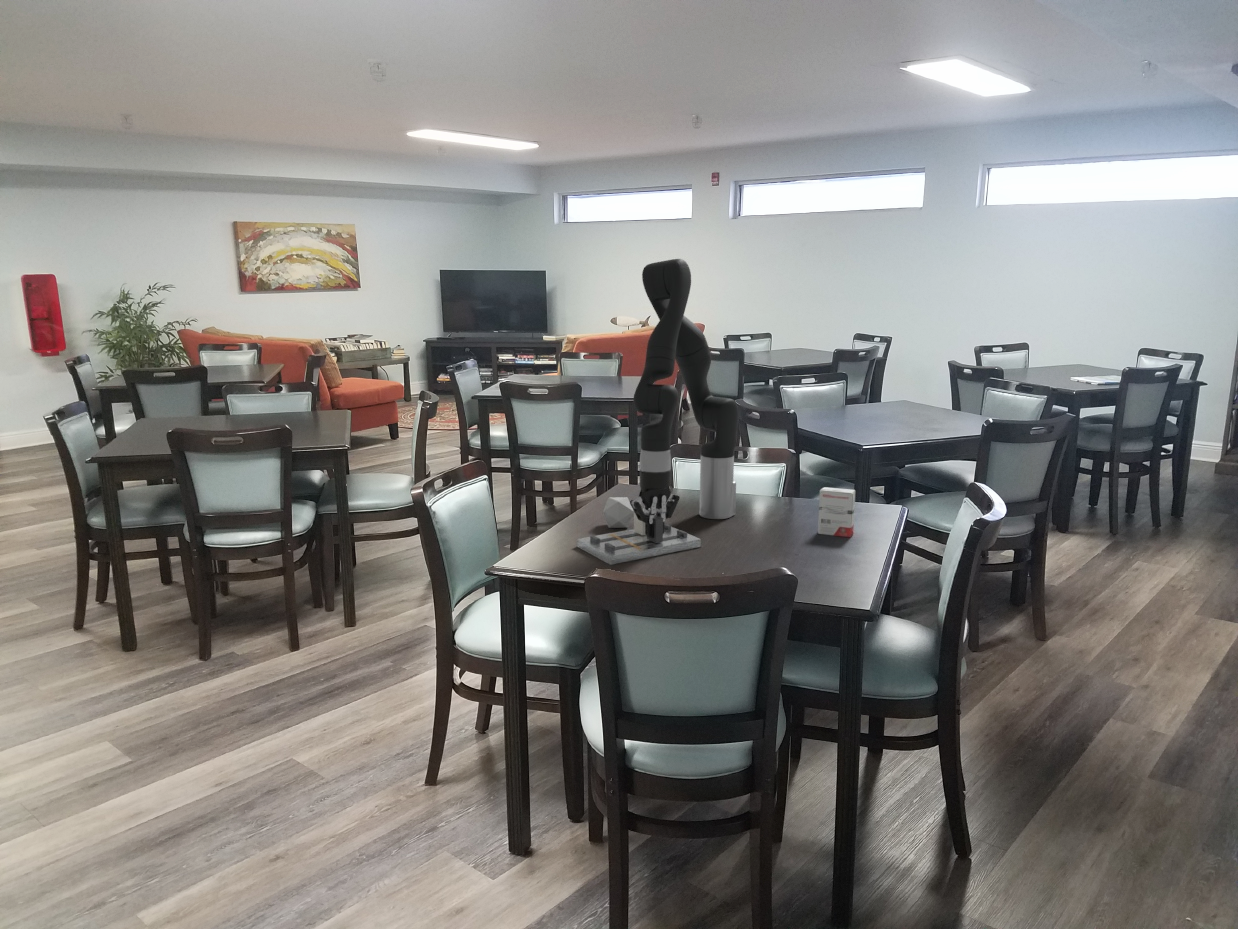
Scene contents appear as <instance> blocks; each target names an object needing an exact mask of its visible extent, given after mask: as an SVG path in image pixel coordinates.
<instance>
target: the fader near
mask: <svg viewBox="0 0 1238 929" xmlns="http://www.w3.org/2000/svg"><path fill="white" fill-rule="evenodd" d="M653 524H654V538H649V537H647V539H648V540H650V541H652V542H654V543H660V542H663V518H662V517H659V516H657V515H656V514H654V522H653Z"/></svg>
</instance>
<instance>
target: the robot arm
mask: <svg viewBox="0 0 1238 929" xmlns="http://www.w3.org/2000/svg"><path fill="white" fill-rule="evenodd" d="M641 276H642V277H641V280H642V285H643V288H644V291H645V293H646V295H647V298H648V300H649V302H650V304H651V306H652V308H653V310H654V311H655V314H656V316H657V317H658V320H659V321H658V322H657V324H656V326H655V327H654V328H653V331H651V334H650V335H649V338H648V342H647V346H646V353H645V362H644V368H643V371H642V374H641V377H640V380H639V381H638V384H637V386H636V388H635V390H634V395H633V400H632V401H633V406H634V408H635V410H636V411H637V413H640V414H642V415H643V414H644V415H662V417H661V419H660V421H657V422H651V423H647V424H644V425H643V426H642V427H641V431H640V455H639V487H640V490H639V493H638V496H637V497H636V499H631V500H629V502H630V504H631V506H632V508H633V511H634V512H635V514H636V516H637V518H638V520H640V521H643V522H645V534H646V535H647V537H649V538H654V524H653V522H654V515H657V516H659V517H662V518H663V534H664V523H665V522H666V520H667V519H671V518H672V516H673V514H674V512H675V510H676V507H677V505H678V503H679V501H680V498H681V497H680V495H677V494H675V493H672V491H671V489H670V487H671V485H672V454H671V436H672V435H671V434H672V427H673V426H672V425H673V421H674V418H675V415H676V411H677V408H678V404H679V400H680V397H679V396H680V395H679V391H678V389H677V388H676V386H674V385H672V384H656V382H657V381H661V380H664V379H668V378H670V377H672V376H673V374H674V371H675V366H676V365H675V363H676V364H677V367H678V369H679V371H680V374H681V376H682V380H683V381H684V382H683V383H684V386H685V388H686V390H687V393H688V398H689V400H690V405H691V408H692V412H693V416H694V418H695V420H696V423H697V425H699V427H700V428H702V429H704V430H708V431H715V437H714V439H713V440H711V441H708V442H704V443H702V445H701V447H700V469H699V472H700V473H699V478H700V479H699V512H698V514H699V516H700V517H702V518H705V519H708V520H709V519H711V520H725V519H728V518H731V517H733V516H735V515H736V504H737V502H736V501H737V481H734V476H735V474H734V473H735V472H734V471H735V470H734V469H735V449H736V446H737V443H738V430H739V420H740V418H739V416H740V415H739V414H740V413H739V412H740V410H739V407H738V404H737V402H736V400H734V399H732V398H728V397H719V396H713V395H712V393H711V391H710V389H709V385H708V381H707V378H708V374H709V371H710V368H711V364H712V353H711V350H710V347H709V344H708V342H707V339H706V336H705V334H704V333H703V331H702V330H701V329H700V328H699V327H698V325H696V323H694V322H693V321H691V320H690V319H689V318H688V317H686V316H685V311H686V308H687V304H688V299H689V297H690V291H691V286H692V274H691V269H690V266H689V264H688V263H687V261H685V259H682V258H675V259H668V260H663V261H657V262H656V261H655V262H651V263H649V264H646V265H645V266H644V267H643V269H642V274H641ZM642 507H643V509H644V511H643V509H642Z"/></svg>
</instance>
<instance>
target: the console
mask: <svg viewBox="0 0 1238 929" xmlns="http://www.w3.org/2000/svg"><path fill="white" fill-rule="evenodd" d="M701 544H702V539H701V538H699V537H696V536H694V535H692V534H689V533H688V532H686V531H684V530H681V529H678V528H675V527H673V526H672V525H670V524H668V523H665V522H664V534H663V542H660V543H654V542H652V541H650V540H648V539H647V535H643V536H642V535H640V534H638V533H636V532H634V528H631V529H626V530H621V531H614V532H609V533H604V534H598V535H590V536H587V537H582V538H576V545H577V546H576V547H577V548H579V549H581V550H582V551H585V552H586V553H588V554H589V555H591V556H594V557H595V558H597V559H599V560H601V561H602V562H605V563H606V564H608V565H611V566H612V565H615V564H617V565H618V564H622V563H625V562H631V561H636V560H637V561H638V560H642V559H646V558H651V557H656V556H661V555H667V554H671V553H676V552H681V551H682V552H683V551H688V550H693V549H697V548H701Z"/></svg>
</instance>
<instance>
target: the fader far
mask: <svg viewBox="0 0 1238 929" xmlns="http://www.w3.org/2000/svg"><path fill="white" fill-rule="evenodd" d="M642 509H643V511H644V507H643V508H642ZM633 529H634V532H636V533H638V534H640V535H642V536H643V535H646V534H645V522H643V521H640V520H638V518H637V516H636V514H635V512H634V513H633Z"/></svg>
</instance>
